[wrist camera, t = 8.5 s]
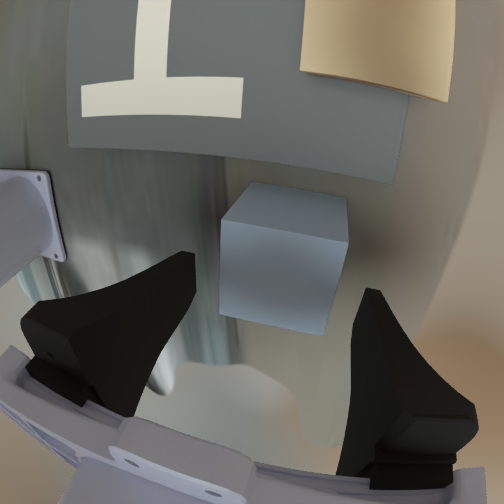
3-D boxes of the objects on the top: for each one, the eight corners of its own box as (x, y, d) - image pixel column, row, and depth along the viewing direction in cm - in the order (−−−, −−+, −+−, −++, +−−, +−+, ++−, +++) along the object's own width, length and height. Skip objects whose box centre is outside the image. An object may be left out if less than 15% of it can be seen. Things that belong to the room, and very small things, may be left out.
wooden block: (309, 75, 12) (299, 70, 9) (316, -22, 9) (309, -57, 6) (418, 97, 11) (447, 102, 8) (426, 0, 9) (454, -24, 5)
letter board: (78, 144, 18) (68, 148, 17) (87, -45, 10) (77, -48, 10) (389, 178, 14) (392, 185, 14) (411, -65, 7) (415, -73, 6)
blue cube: (246, 260, 19) (219, 313, 15) (252, 181, 17) (221, 219, 12) (328, 276, 18) (322, 336, 14) (346, 197, 16) (348, 243, 11)
